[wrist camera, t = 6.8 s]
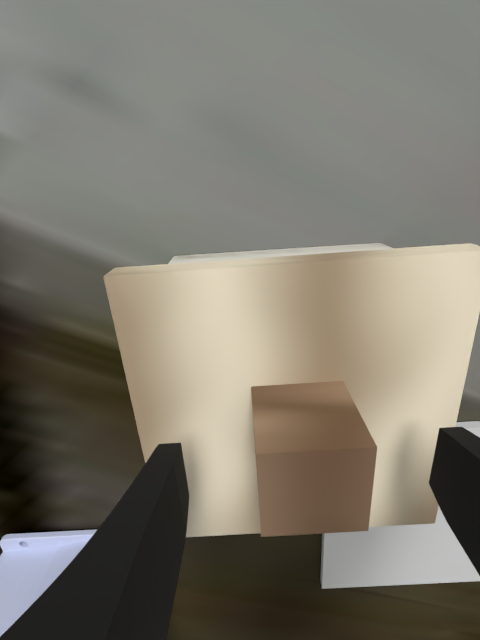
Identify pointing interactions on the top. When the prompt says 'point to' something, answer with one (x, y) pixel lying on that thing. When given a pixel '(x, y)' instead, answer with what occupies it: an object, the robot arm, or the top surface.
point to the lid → (300, 381)
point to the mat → (397, 553)
